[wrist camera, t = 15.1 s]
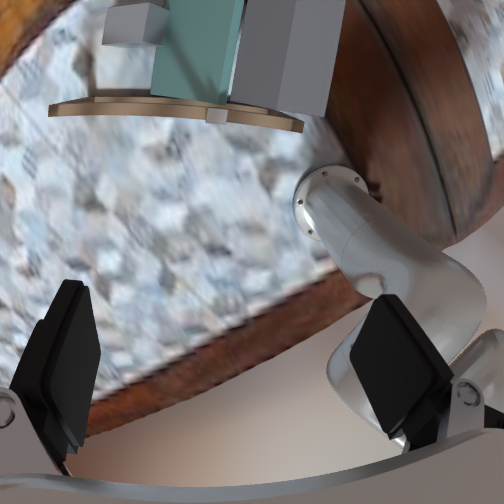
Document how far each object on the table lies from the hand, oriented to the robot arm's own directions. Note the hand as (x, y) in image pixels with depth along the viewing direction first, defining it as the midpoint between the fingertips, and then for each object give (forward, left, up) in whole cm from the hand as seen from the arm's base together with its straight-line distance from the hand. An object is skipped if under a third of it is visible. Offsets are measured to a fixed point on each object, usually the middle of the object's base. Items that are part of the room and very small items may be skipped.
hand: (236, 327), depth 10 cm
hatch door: (-4, -14, -31) cm, 34 cm away
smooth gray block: (+8, -14, -32) cm, 36 cm away
